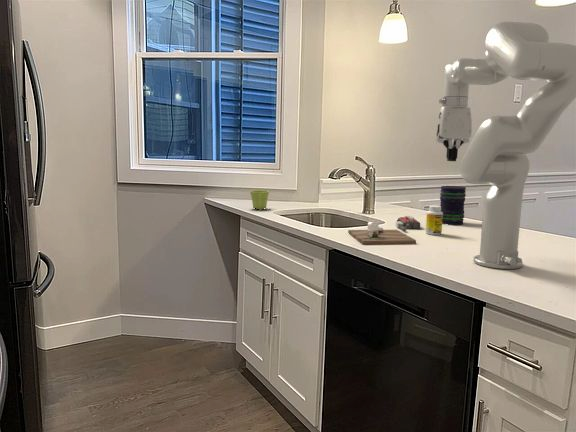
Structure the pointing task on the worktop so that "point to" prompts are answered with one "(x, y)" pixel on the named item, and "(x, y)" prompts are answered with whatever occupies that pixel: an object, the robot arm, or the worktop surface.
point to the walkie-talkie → (407, 223)
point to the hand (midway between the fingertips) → (451, 161)
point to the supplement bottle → (434, 220)
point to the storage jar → (452, 204)
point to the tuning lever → (373, 229)
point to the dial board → (382, 237)
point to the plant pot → (259, 198)
